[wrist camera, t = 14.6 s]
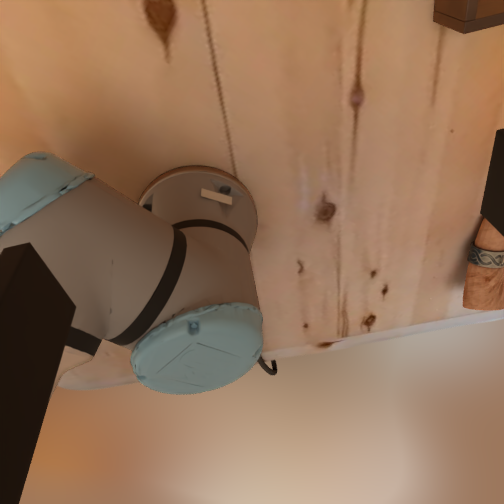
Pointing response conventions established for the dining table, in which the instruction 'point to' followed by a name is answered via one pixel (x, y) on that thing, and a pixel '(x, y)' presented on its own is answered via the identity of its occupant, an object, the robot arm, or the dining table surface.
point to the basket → (469, 14)
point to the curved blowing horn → (485, 271)
